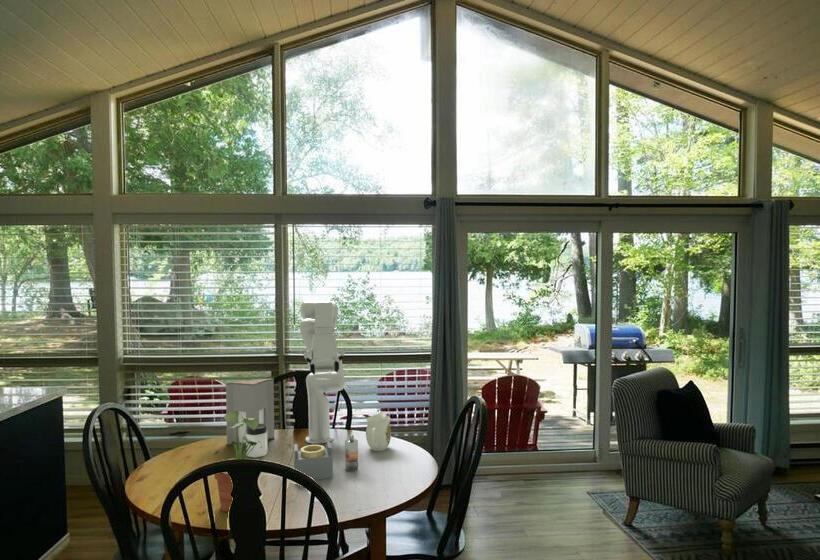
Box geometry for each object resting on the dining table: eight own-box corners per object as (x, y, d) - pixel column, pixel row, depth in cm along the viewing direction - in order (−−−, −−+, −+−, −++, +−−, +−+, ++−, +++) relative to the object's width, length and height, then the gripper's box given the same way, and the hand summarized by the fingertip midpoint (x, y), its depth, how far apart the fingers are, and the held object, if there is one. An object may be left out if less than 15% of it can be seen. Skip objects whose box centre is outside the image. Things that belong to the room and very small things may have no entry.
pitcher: (360, 455, 216) (359, 423, 216) (371, 442, 234) (371, 412, 234) (385, 457, 214) (385, 424, 214) (395, 443, 232) (394, 412, 232)
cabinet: (273, 437, 242) (272, 378, 242) (277, 443, 234) (276, 382, 233) (226, 444, 234) (225, 382, 234) (228, 450, 225) (227, 386, 225)
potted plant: (263, 511, 165) (262, 402, 165) (213, 518, 161) (211, 406, 161) (263, 492, 180) (261, 392, 180) (216, 498, 176) (215, 396, 176)
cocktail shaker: (344, 467, 203) (344, 433, 203) (357, 466, 204) (356, 432, 204) (346, 472, 198) (345, 437, 198) (359, 470, 199) (358, 436, 199)
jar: (271, 452, 222) (271, 424, 222) (258, 458, 214) (257, 430, 214) (256, 449, 226) (255, 422, 226) (242, 455, 218) (241, 427, 218)
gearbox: (294, 471, 199) (293, 443, 199) (330, 468, 202) (330, 440, 202) (294, 481, 189) (294, 451, 189) (332, 477, 193) (332, 448, 193)
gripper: (342, 329, 220) (342, 369, 219) (301, 331, 213) (302, 373, 213) (346, 330, 213) (347, 372, 212) (304, 333, 206) (305, 375, 206)
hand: (324, 372), depth 213 cm, fingers open, 9 cm apart
